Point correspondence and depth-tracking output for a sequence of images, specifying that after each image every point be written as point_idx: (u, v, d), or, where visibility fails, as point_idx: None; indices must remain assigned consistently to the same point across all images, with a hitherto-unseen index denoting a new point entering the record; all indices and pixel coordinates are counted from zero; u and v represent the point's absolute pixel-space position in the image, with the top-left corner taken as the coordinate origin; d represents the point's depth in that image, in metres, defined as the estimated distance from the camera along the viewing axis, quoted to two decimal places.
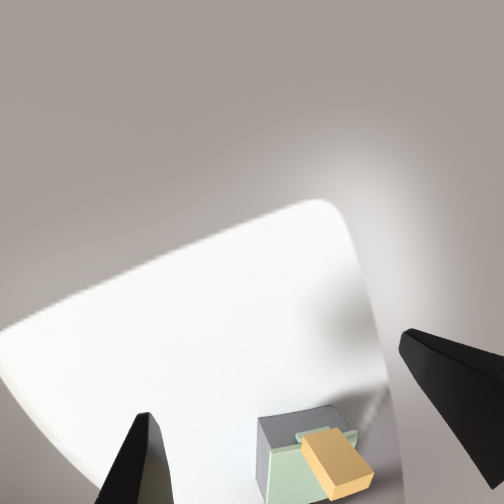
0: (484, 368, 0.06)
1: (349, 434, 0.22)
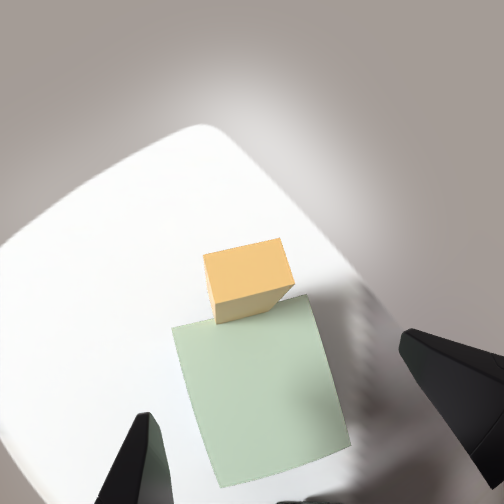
0: (484, 368, 0.06)
1: (291, 298, 0.18)
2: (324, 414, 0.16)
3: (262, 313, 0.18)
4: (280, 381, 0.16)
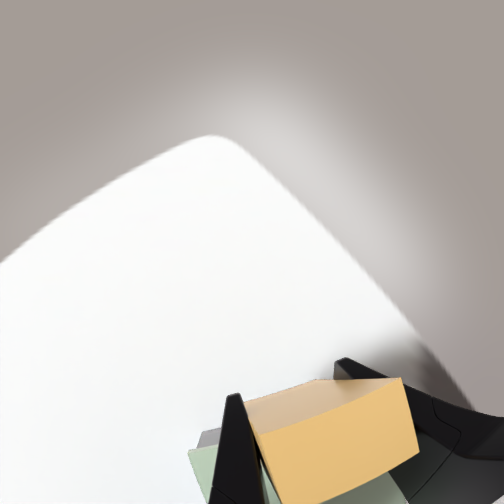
0: (417, 417, 0.06)
1: None
2: None
3: None
4: (340, 503, 0.09)
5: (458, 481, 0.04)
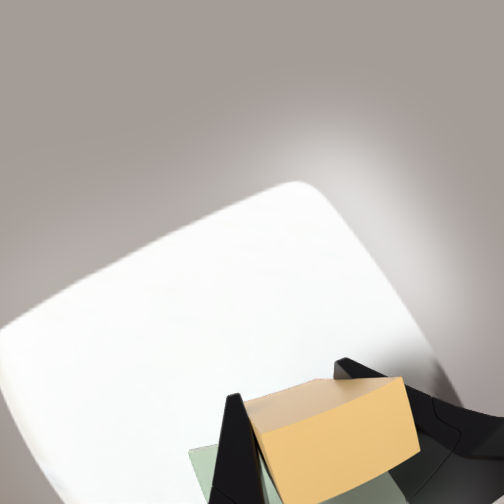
0: (417, 417, 0.06)
1: None
2: None
3: None
4: (340, 502, 0.09)
5: (458, 481, 0.04)
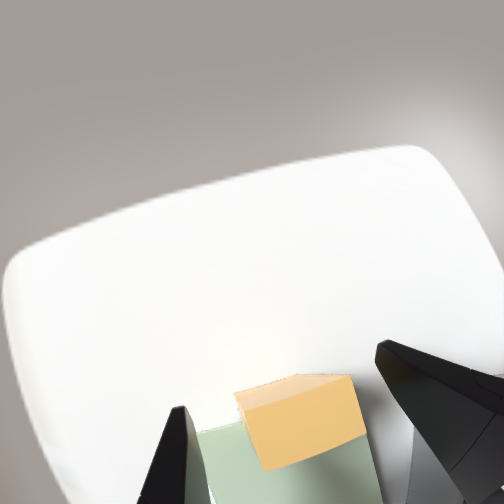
0: (461, 386, 0.06)
1: None
2: None
3: None
4: (319, 482, 0.12)
5: (501, 441, 0.04)
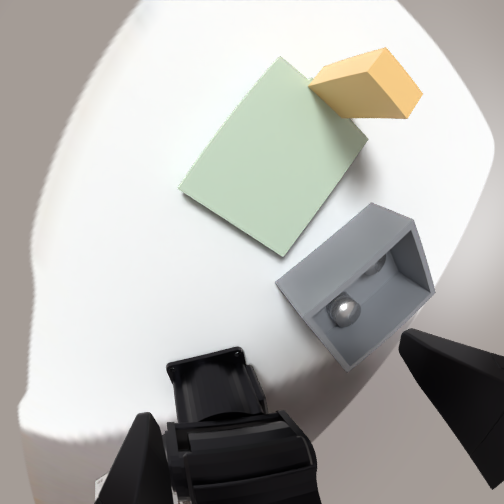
0: (484, 368, 0.06)
1: (358, 129, 0.19)
2: (296, 214, 0.20)
3: (337, 114, 0.18)
4: (300, 161, 0.18)
5: None
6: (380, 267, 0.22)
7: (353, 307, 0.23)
